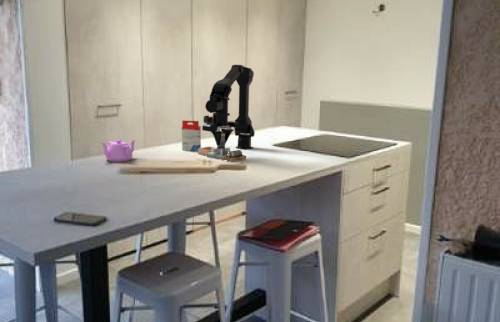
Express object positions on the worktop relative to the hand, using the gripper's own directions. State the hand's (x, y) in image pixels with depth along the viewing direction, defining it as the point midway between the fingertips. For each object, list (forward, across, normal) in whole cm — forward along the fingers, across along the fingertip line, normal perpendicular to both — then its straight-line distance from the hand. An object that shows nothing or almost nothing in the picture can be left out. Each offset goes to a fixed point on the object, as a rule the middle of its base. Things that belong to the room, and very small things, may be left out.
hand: (221, 144), depth 243 cm
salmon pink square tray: (+6, 0, -8) cm, 10 cm away
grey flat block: (+6, 0, 0) cm, 6 cm away
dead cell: (+2, 0, 0) cm, 2 cm away
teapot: (+6, +38, -25) cm, 46 cm away
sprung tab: (+4, 0, +3) cm, 5 cm away
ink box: (+6, -1, -22) cm, 22 cm away
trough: (+6, 0, +8) cm, 10 cm away
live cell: (+6, 0, +8) cm, 10 cm away
